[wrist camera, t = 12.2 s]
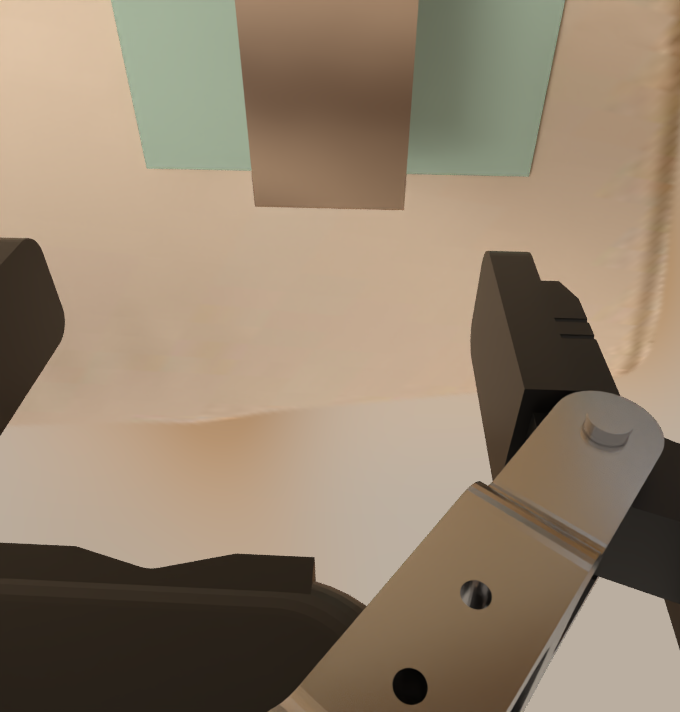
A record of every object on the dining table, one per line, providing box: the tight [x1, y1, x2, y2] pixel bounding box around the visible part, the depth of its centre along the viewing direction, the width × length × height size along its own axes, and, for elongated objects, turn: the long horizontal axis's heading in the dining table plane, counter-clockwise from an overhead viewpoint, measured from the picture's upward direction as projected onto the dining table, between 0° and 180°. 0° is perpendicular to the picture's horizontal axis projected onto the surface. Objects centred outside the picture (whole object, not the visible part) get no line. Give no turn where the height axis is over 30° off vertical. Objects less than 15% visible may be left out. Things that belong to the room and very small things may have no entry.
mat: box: [111, 0, 565, 177], centre depth 28 cm, size 20×14×1 cm
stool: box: [235, 0, 419, 210], centre depth 25 cm, size 10×6×8 cm, turn 0°
